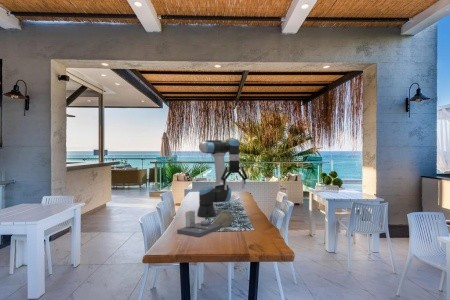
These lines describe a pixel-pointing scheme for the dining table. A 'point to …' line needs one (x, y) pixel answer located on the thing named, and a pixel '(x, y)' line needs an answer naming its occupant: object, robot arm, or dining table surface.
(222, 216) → the fossil tooth
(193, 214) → the fader
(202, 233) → the console
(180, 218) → the dining table surface
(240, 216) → the dining table surface
